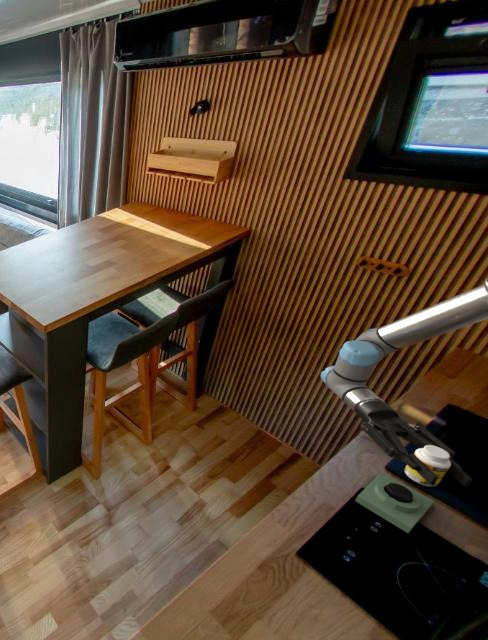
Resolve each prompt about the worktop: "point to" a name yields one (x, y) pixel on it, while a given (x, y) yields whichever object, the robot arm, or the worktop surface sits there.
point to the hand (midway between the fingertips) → (450, 481)
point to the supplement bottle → (430, 463)
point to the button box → (393, 503)
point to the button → (399, 492)
